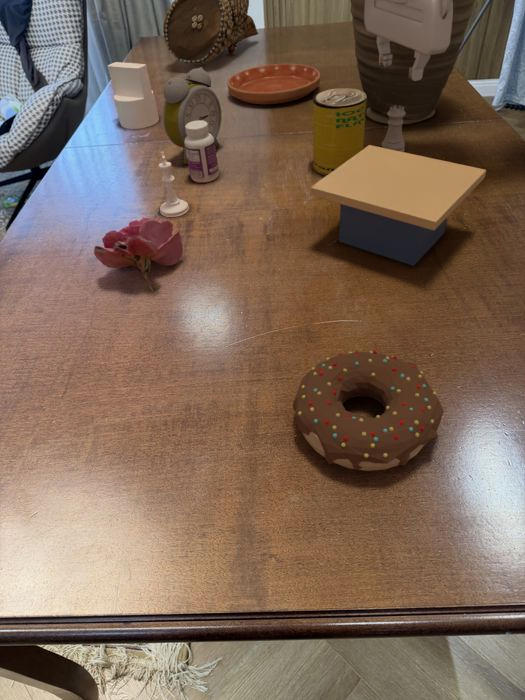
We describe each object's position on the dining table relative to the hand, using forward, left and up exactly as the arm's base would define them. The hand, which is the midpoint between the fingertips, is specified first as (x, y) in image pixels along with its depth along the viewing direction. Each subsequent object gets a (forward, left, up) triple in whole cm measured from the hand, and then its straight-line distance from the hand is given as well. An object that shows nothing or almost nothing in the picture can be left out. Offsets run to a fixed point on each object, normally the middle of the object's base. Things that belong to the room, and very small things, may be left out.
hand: (399, 72), depth 87 cm
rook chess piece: (0, 0, -14) cm, 14 cm away
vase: (+8, -19, -14) cm, 25 cm away
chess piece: (+21, +38, -14) cm, 45 cm away
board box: (-14, +27, -14) cm, 33 cm away
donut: (-28, +59, -14) cm, 67 cm away
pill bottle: (+25, +26, -14) cm, 38 cm away
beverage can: (+6, +10, -14) cm, 18 cm away
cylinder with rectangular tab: (+59, +12, -14) cm, 62 cm away
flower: (+12, +53, -14) cm, 56 cm away
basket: (+80, -39, -14) cm, 90 cm away
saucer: (+42, -18, -14) cm, 48 cm away
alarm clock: (+34, +19, -14) cm, 41 cm away
